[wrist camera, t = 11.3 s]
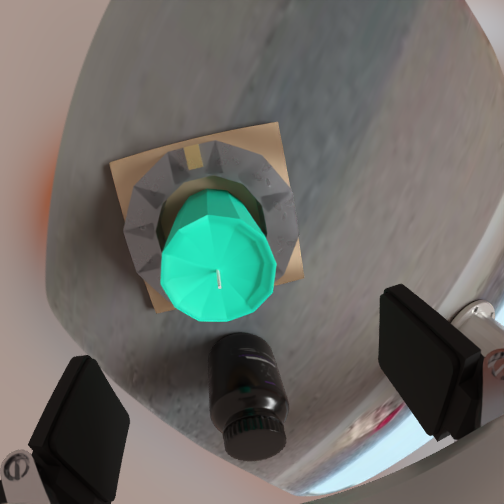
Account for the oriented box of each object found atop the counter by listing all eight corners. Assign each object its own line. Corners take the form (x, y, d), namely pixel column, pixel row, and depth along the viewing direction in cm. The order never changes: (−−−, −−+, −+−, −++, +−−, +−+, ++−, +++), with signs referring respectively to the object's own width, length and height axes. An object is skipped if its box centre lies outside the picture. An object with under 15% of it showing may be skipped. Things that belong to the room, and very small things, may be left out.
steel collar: (297, 274, 28) (310, 292, 24) (160, 306, 27) (154, 329, 23) (272, 129, 23) (283, 126, 20) (117, 167, 22) (102, 170, 19)
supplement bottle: (268, 324, 30) (301, 412, 19) (273, 373, 33) (301, 458, 21) (200, 335, 30) (203, 429, 18) (213, 384, 32) (221, 472, 21)
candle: (260, 203, 25) (305, 249, 14) (233, 267, 27) (254, 352, 16) (190, 177, 24) (177, 203, 12) (166, 245, 25) (141, 321, 14)
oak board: (301, 273, 29) (304, 278, 28) (157, 308, 28) (156, 313, 27) (275, 122, 24) (277, 121, 23) (112, 162, 23) (109, 162, 22)
